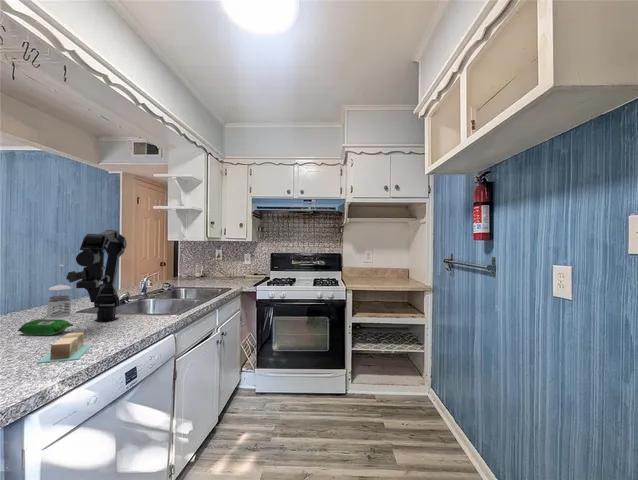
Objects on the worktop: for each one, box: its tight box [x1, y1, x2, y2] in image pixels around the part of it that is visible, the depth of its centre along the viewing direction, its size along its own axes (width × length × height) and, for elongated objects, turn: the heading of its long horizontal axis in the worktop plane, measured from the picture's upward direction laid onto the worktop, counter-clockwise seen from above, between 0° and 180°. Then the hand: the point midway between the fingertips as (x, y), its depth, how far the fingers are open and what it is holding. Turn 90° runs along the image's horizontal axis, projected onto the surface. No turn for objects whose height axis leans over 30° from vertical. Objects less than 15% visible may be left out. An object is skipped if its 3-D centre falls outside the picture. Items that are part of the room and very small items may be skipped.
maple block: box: [50, 332, 85, 360], centre depth 94 cm, size 4×4×12 cm
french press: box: [44, 264, 79, 320], centre depth 133 cm, size 10×12×25 cm
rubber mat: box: [36, 344, 93, 364], centre depth 93 cm, size 12×10×1 cm
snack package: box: [17, 318, 74, 336], centre depth 111 cm, size 7×16×5 cm, turn 95°
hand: (93, 302), depth 116 cm, fingers closed
